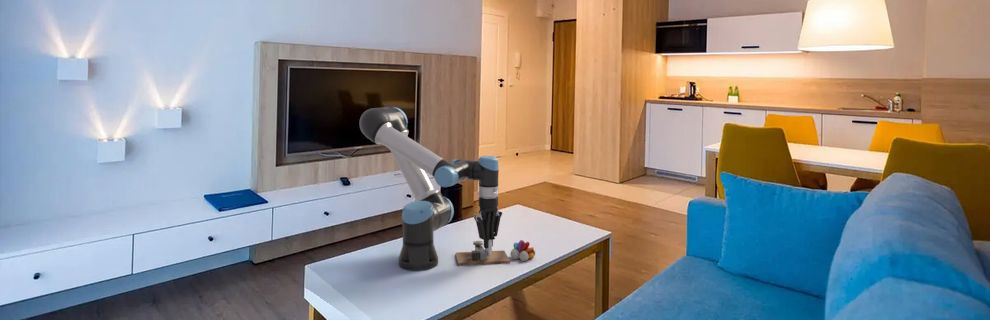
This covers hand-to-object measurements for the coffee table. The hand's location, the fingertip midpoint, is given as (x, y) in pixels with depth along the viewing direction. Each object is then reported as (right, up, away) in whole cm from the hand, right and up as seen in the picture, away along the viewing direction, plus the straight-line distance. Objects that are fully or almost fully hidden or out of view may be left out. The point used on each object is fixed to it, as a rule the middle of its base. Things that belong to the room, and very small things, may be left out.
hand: (488, 255), depth 208 cm
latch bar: (-3, -1, +1) cm, 3 cm away
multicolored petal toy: (+14, -2, +4) cm, 15 cm away
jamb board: (-2, -2, +3) cm, 4 cm away
